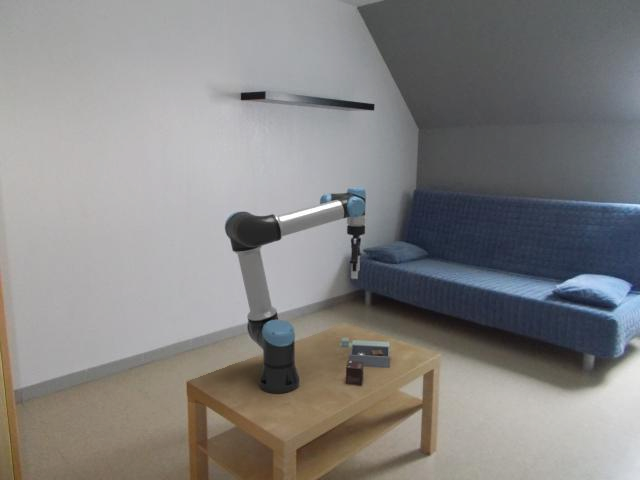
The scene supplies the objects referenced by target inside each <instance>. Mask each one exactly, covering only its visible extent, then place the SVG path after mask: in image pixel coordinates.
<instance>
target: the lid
mask: <svg viewBox="0 0 640 480" xmlns="http://www.w3.org/2000/svg"><path fill="white" fill-rule="evenodd" d="M390 344H391V343H390V341H375V340H359V339H358V340H357V339H353V340H352V342H350V337H343V336H342V337H341V342H340V343H339V348H351V345H369V346H388V347H389V351H390V352H391V349H390V346H391V345H390Z"/></svg>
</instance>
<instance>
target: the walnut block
mask: <svg viewBox="0 0 640 480" xmlns="http://www.w3.org/2000/svg"><path fill="white" fill-rule="evenodd" d="M371 356H383V353H382V351H381V350H371Z"/></svg>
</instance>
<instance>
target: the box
mask: <svg viewBox="0 0 640 480" xmlns="http://www.w3.org/2000/svg"><path fill="white" fill-rule="evenodd" d="M363 382H364V366H363V362H355V361H350V360H349V361H347V364H346V367H345V385H352V386H360V387H362V386H363Z"/></svg>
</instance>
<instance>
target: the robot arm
mask: <svg viewBox="0 0 640 480" xmlns="http://www.w3.org/2000/svg"><path fill="white" fill-rule="evenodd" d="M346 191H347V192H342V193H341V192H340V193H323V194H322V196H321V197H320V200H319V204H316V205H312V206H309V207H308V206H307V207H305V208H301V209H297V210H294V211H289V212H287V213H283V214H280V215H279V214H278V215H276V214H274V213H272V214H268V215H255V214H252V213H251V212H249V211H240V210H239V211H236V212H233V213H231V214H230V215H229V216H228V217H227V218H226V220H225V224H224V231H225V234H226V236H227V237H228V239H229V241H230V246H231V249H232V252H233V253H235V254H237V258H238V263H239V267H240V272H241V276H242V279H243V280H242V281H243V284H244V289H245V294H246V297H247V302H248V307H249V312H248V314H247V325H246V328H247V329H246V330H247V333H248V335H249V337H250V339H251V340H252V341H254V342H255V343H256V344H257V345H258V346H259V347H260V348H261V349H262V351H263V353H262V354H263V357H262V359H263V366H262V369H261V371H260V375H259V379H258V382H259V383H258V384H259V385H258V386H259V388H260V389H261V390H263V391H264V392H267V393H271V394H285V393H289V392H293V391H294V390H296V389H297V388H299V386H300V384H301V383H300V375H299V371H298V370H297V366H296V364H295V363H296V361H295V359H296V358H295V357H296V355H295V351H296V350H295V349H296V347H295V346H296V345H295V342H296V341H295V339H296V334H295V328H294V326H293V324H292V323H291V322H289V321H287V320H283V319H279V314H278V312H277V310H278V309H277V308H276V307H274V306H272V301H271V297H270V291H269V286H268V283H267V281H268V280H267V277H266V273H265V268H264V267H265V266H264V262H263V256H262V253H261V249H262V247H263V246H264V245H269V244H271V243H274V242H278V241H281V240H282V238H283V237H285V236H289V235H291V234H295V233H299V232H302V231H305V230H310V229H312V228H315V227H319V226H322V225H325V224H330V223H332V222H336V221H340V220H342V219H346V224H347V226H346V234H347V235H349V236H352V237H351V238H350V243H351V245H350V249H351V258H350V260H349V264H350V278H351V279H353V280H358V278H359V277H358V276H359V271H360V267H361V266H360V264H361V256H362V252H361V242H362V238H361V237H360V236H364V235H365V234H366V225H365V224H366V220H367V219H368V217H366V205H367V204H366V200H367V195H366V194H367V193H366V189H365V188H363V187H356V186H355V187H348V188H347V190H346Z"/></svg>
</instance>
